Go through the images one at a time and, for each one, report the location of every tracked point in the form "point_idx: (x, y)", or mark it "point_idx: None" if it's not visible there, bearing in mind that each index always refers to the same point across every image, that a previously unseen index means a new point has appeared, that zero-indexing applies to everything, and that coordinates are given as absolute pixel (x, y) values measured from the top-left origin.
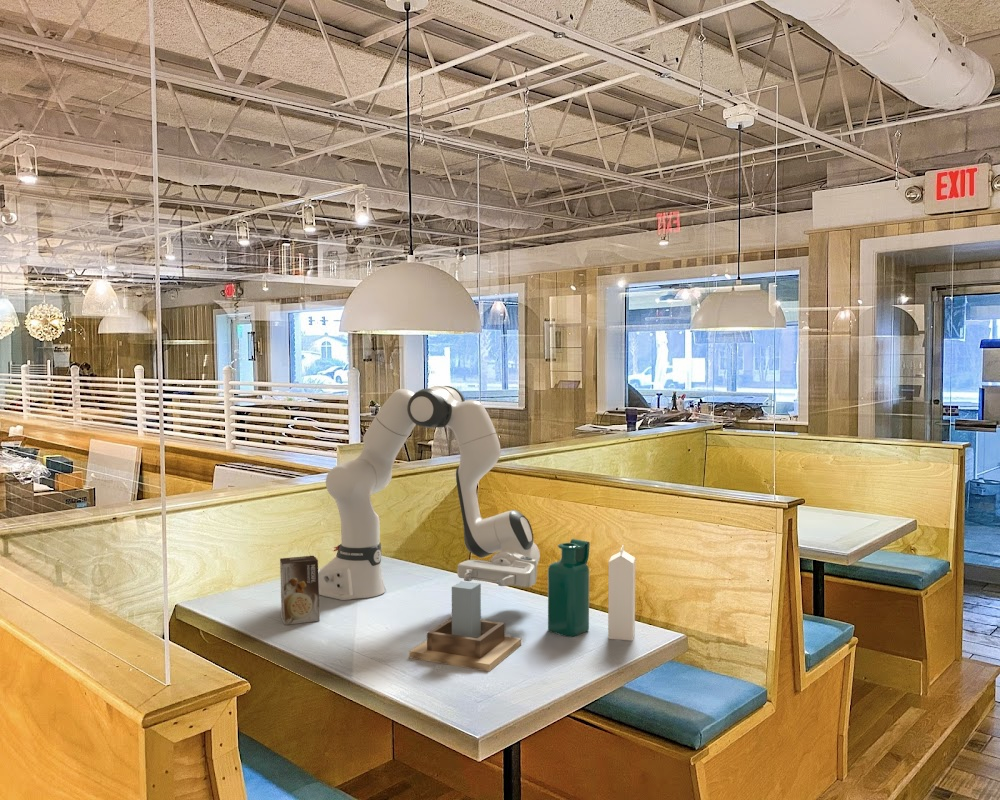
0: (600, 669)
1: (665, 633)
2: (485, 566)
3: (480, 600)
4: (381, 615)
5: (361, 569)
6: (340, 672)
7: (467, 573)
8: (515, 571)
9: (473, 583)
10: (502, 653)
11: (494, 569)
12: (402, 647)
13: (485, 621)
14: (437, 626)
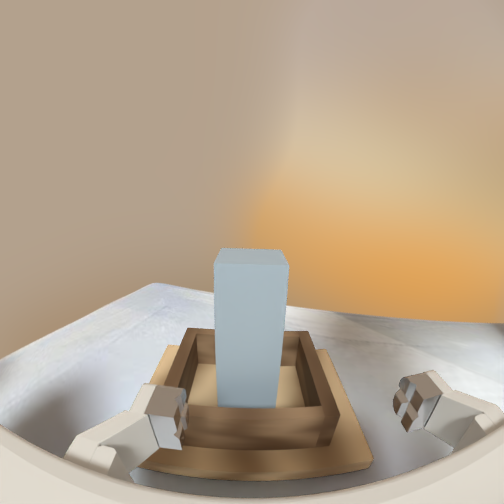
0: (5, 365)
1: None
2: (456, 495)
3: (214, 315)
4: None
5: None
6: (354, 314)
7: (433, 381)
8: (43, 463)
9: (238, 262)
10: (152, 378)
11: (306, 499)
12: (371, 378)
13: (217, 410)
14: (315, 353)
